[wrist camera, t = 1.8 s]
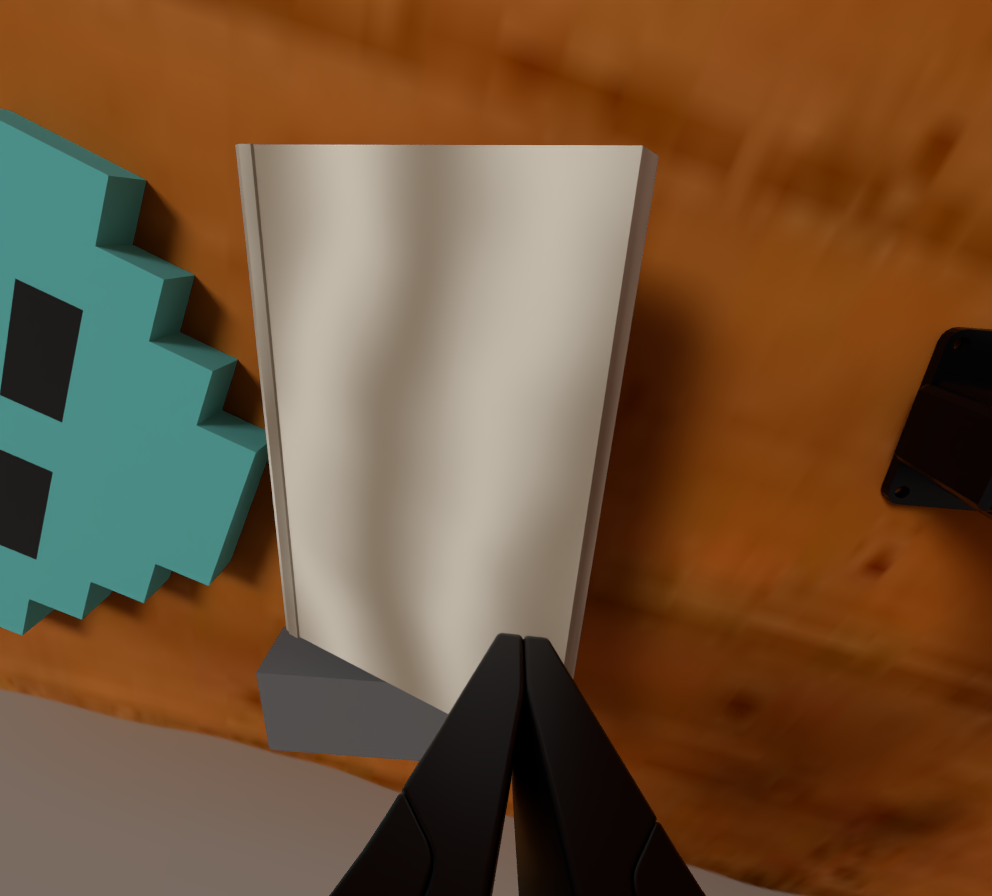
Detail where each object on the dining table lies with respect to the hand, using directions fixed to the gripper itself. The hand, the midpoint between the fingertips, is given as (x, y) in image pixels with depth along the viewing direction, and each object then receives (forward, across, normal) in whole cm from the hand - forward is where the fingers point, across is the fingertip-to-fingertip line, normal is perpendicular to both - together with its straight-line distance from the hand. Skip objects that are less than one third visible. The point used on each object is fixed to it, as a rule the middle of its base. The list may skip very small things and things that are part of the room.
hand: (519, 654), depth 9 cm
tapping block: (+12, +6, +13) cm, 19 cm away
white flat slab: (+9, +3, +1) cm, 10 cm away
